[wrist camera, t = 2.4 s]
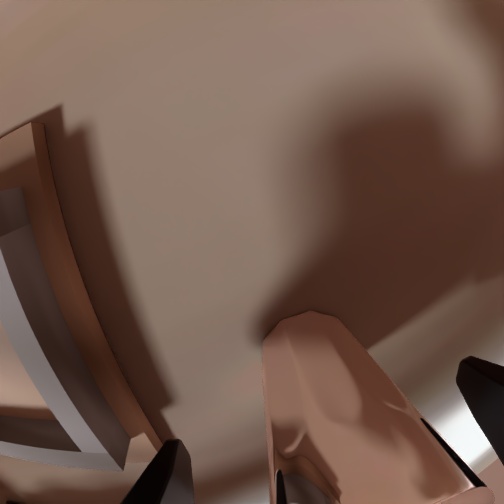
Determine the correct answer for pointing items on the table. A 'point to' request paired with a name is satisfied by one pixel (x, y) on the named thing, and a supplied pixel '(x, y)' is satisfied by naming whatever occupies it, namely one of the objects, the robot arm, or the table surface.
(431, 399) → the table surface
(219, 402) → the table surface
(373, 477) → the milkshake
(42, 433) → the frame
